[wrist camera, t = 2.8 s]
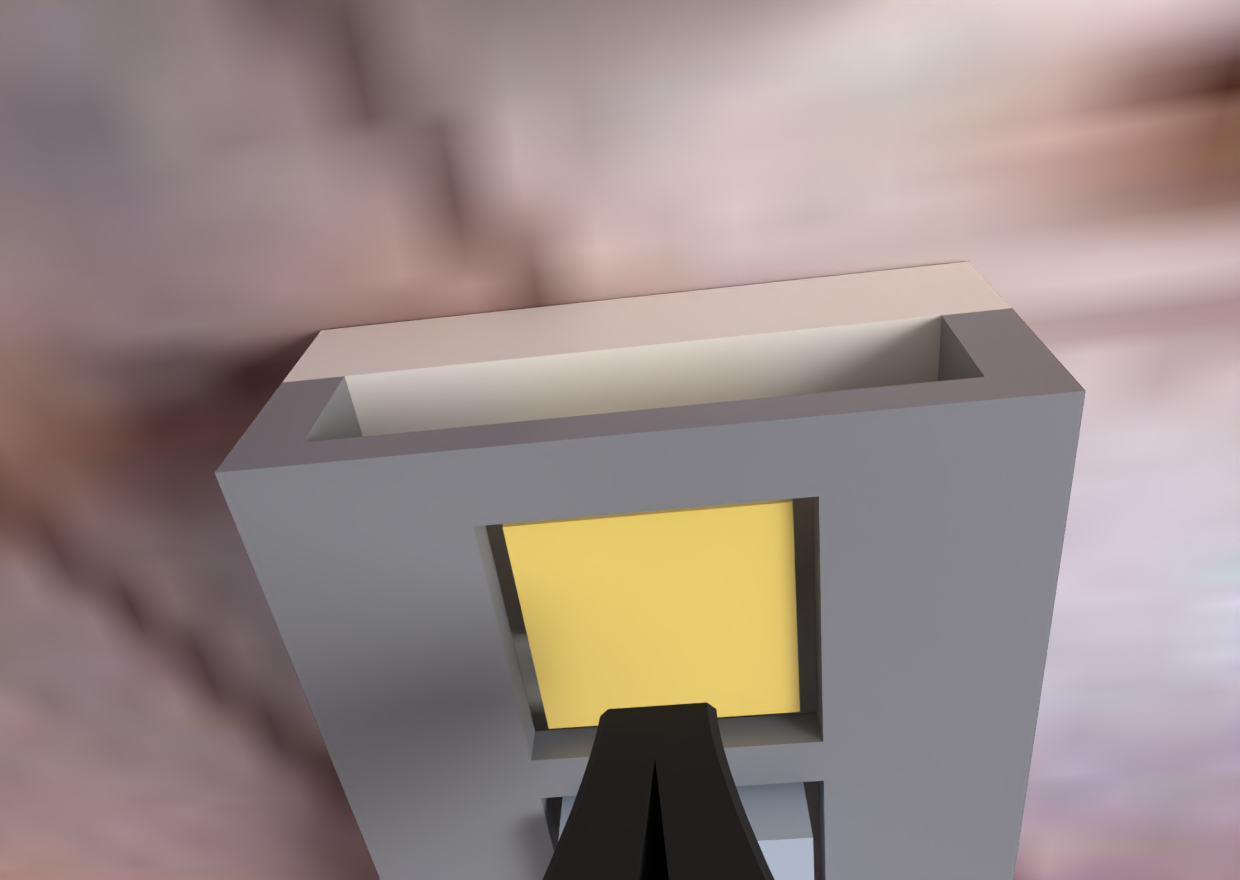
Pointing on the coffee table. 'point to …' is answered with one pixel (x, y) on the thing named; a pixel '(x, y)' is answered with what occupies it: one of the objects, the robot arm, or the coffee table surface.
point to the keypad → (671, 479)
